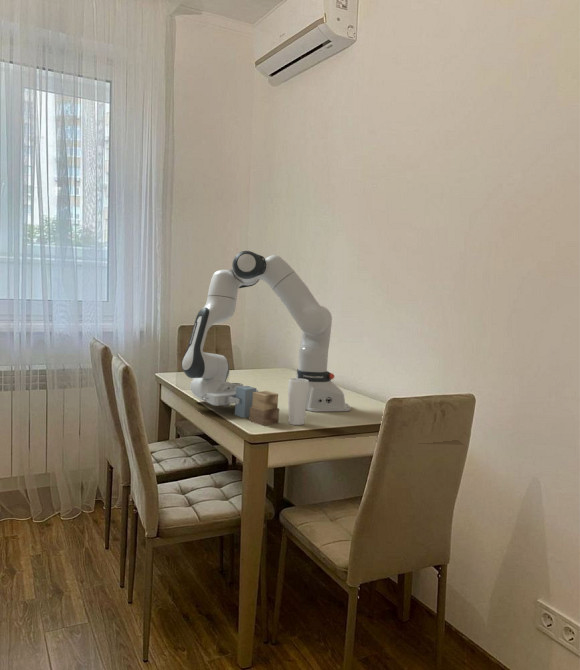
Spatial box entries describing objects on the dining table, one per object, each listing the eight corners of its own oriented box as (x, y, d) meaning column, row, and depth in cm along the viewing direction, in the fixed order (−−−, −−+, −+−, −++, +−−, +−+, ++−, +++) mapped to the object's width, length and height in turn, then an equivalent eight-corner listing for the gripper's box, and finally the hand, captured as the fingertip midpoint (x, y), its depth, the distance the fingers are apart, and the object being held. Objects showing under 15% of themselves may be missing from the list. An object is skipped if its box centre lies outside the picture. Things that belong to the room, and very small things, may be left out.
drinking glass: (283, 424, 194) (285, 380, 192) (290, 420, 200) (293, 377, 199) (302, 427, 191) (305, 382, 190) (308, 423, 198) (311, 379, 196)
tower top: (265, 405, 199) (266, 390, 199) (277, 408, 195) (278, 393, 195) (252, 407, 195) (253, 392, 195) (264, 410, 191) (265, 395, 191)
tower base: (264, 418, 201) (265, 404, 200) (278, 423, 196) (279, 408, 195) (249, 421, 196) (249, 406, 195) (262, 426, 191) (263, 411, 190)
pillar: (245, 413, 206) (247, 385, 205) (254, 416, 203) (256, 388, 202) (234, 415, 203) (236, 387, 202) (243, 418, 199) (245, 389, 198)
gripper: (199, 387, 204) (224, 394, 194) (244, 382, 218) (269, 389, 208) (198, 405, 204) (223, 413, 194) (243, 399, 219) (268, 406, 209)
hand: (247, 400), depth 201 cm, fingers closed on pillar, 5 cm apart
